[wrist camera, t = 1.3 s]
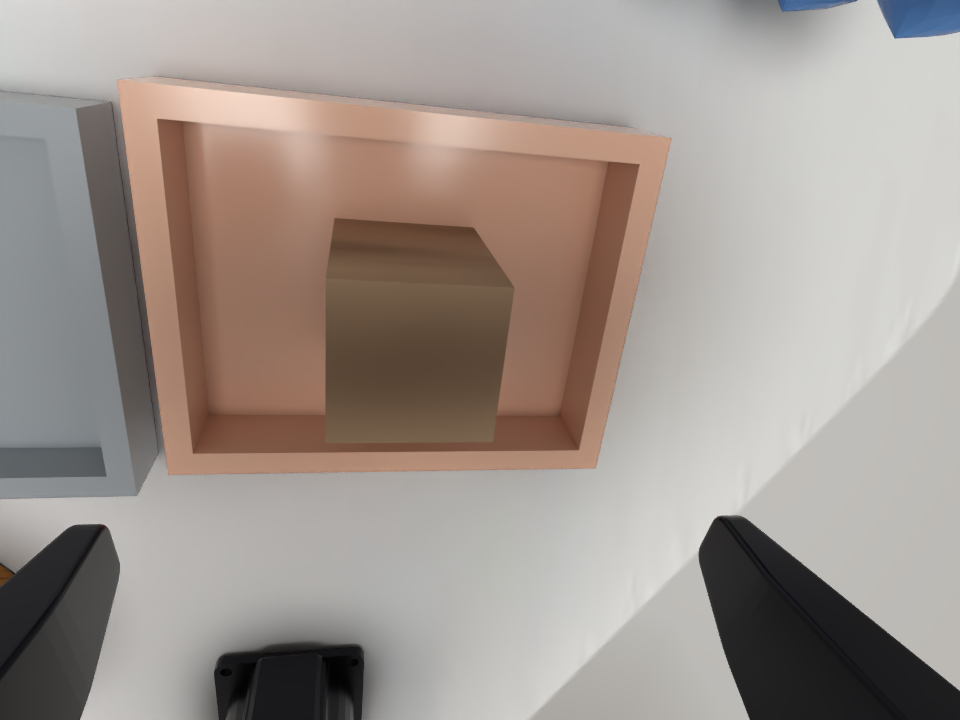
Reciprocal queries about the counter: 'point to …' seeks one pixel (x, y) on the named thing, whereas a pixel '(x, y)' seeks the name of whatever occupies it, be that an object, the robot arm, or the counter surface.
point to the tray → (68, 308)
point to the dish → (376, 197)
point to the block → (413, 334)
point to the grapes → (900, 15)
